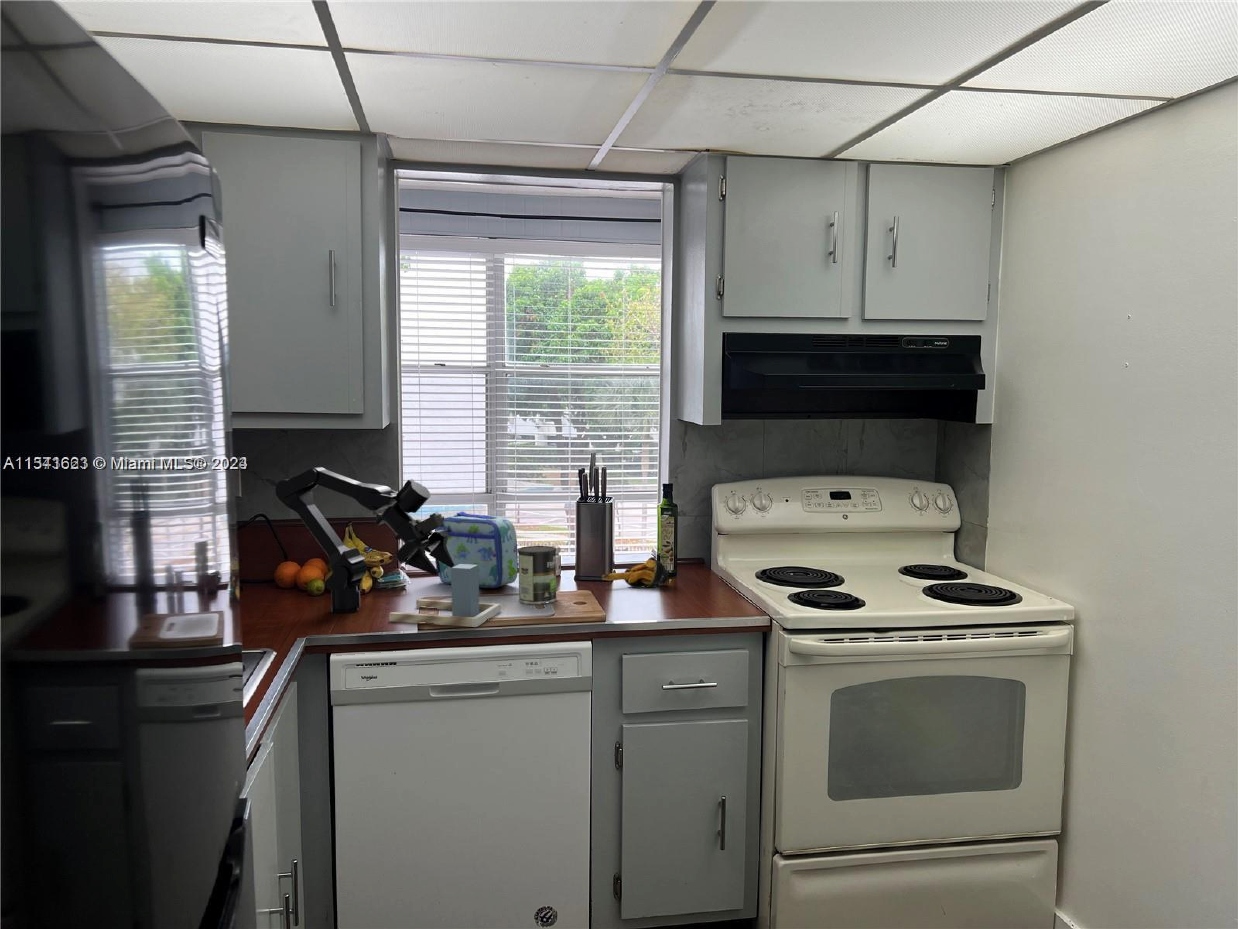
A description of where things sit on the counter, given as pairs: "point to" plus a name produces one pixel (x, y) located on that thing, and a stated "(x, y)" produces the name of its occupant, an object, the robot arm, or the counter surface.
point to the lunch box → (481, 548)
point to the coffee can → (537, 574)
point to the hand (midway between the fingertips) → (445, 570)
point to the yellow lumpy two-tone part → (642, 574)
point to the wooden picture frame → (485, 608)
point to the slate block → (465, 590)
